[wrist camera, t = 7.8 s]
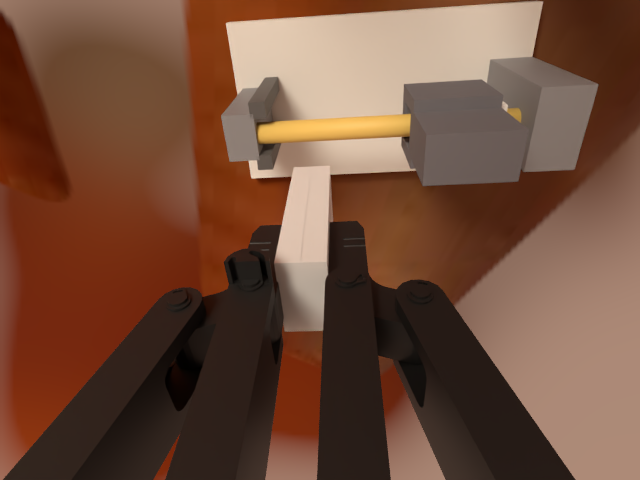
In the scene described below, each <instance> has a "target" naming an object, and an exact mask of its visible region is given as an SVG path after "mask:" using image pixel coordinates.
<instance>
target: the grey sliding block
mask: <svg viewBox="0 0 640 480" xmlns="http://www.w3.org/2000/svg"><path fill="white" fill-rule="evenodd" d="M503 96H504V95H503V94H501V93H500V92H499V91H497V90H496V89H494V88H493V87H491V86H490V85H489V84H487V83H486V82H484V81H483V80H482V79H480V80H463V81H446V82H429V83H412V84H404V93H403V114H411V120H410V136H409V137H402V139H401V146H402V149H403V151H404V154H405V156H406V159H407V162H408V164H409V167H410V169H416V171H417V174H418V176H419V179H420V181H421V183H422V186H434V185H456V184H478V183H500V182H518V180H519V175H520V171H521V166H522V161H523V156H524V152H525V147H526V142H527V137H528V133H529V129H528V128H527V127H525V126H524V125H523V124H521V123H520V122H519V121H518V120H516V119H515V118H514V117H513V116H511V115H510V114H509V113H508V112H506V111H505V110H504V109H503V108H502V102H503Z"/></svg>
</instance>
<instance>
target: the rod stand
mask: <svg viewBox="0 0 640 480" xmlns="http://www.w3.org/2000/svg"><path fill="white" fill-rule="evenodd" d="M542 5H543V1H525V2H511V3H497V4H482V5H468V6H453V7H439V8H425V9H410V10H396V11H382V12H367V13H353V14H339V15H324V16H310V17H296V18H281V19H267V20H253V21H238V22H228V23H226V27H227V33H228V39H229V45H230V51H231V57H232V63H233V69H234V75H235V82H236V88H237V94H238V96H237V97H236V98H235V99H234V100H233V102H232V103H231V104H230V105H229V107H228V108H227V109H226V110H225V112H224V113H223V114H222V115H221V118H222V124H223V129H224V134H225V139H226V145H227V150H228V155H229V160H230V162H232V161H249V166H250V172H251V178H271V177H292V174H293V169H294V167H312V166H330V175H335V174H356V173H377V172H399V171H416V169H410V167H409V164H408V162H407V159H406V156H405V154H404V151H403V149H402V146H401V139H402V137H409V136H410V120H411V114H403V93H404V84H412V83H429V82H446V81H463V80H480V79H482V80H483V81H484V82H486V83H487V84H489V85H490V86H491V87H493V88H494V89H496V90H497V91H499V92H500V93H501V94H503V95H504V96H503V102H502V108H503V109H504V110H505V111H506V112H508V113H509V114H510V115H511V116H513V117H514V118H515V119H516V120H518V121H519V122H520V123H521V124H523V125H524V126H525V127H527V128H528V129H529V133H528V137H527V142H526V147H525V152H524V156H523V161H522V166H521V170H522V171H523V172H537V171H559V170H574V169H575V166H576V162H577V159H578V155H579V152H580V148H581V145H582V141H583V138H584V134H585V131H586V127H587V124H588V120H589V117H590V113H591V110H592V106H593V103H594V99H595V96H596V92H597V89H598V85H599V84H597V83H595V82H592V81H590V80H587V79H585V78H583V77H580V76H578V75H575V74H573V73H570V72H568V71H566V70H563V69H561V68H558V67H556V66H554V65H551V64H549V63H546V62H544V61H541V60H539V59H537V58H534V57H532V56H533V51H534V46H535V41H536V36H537V30H538V25H539V20H540V15H541V10H542Z"/></svg>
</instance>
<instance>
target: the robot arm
mask: <svg viewBox="0 0 640 480" xmlns="http://www.w3.org/2000/svg"><path fill="white" fill-rule="evenodd" d="M224 265H225V269H226V273H227V278H228V282H229V286H228V289H227V290H225V291H223V292H220V293H217V294H213V295H209V296H205V297H202V294H201V293H200V292H199V291H198V290H197V289H193V288H178V289H175V290H172V291H170V292H168V293H166V294H164V295H163V296H162V297H161V298H160V299H159V300H158V301H157V302H156V303H155V304H154V305H153V307H152V308H151V309H150V310H149V311H148V312H147V314H146V315H145V316H144V317H143V318H142V320H141V321H140V322H139V323H138V324H137V325H136V326H135V327H134V329H133V330H132V331H131V332H130V333H129V334H128V336H127V337H126V338H125V339H124V340H123V341H122V342H121V344H120V345H119V346H118V347H117V348H116V349H115V351H114V352H113V353H112V354H111V355H110V356H109V358H108V359H107V360H106V361H105V362H104V363H103V365H102V366H101V367H100V368H99V369H98V370H97V371H96V373H95V374H94V375H93V376H92V377H91V378H90V380H89V381H88V382H87V383H86V384H85V385H84V387H83V388H82V389H81V390H80V391H79V392H78V393H77V395H76V396H75V397H74V398H73V399H72V401H71V402H70V403H69V404H68V405H67V406H66V407H65V408H64V410H63V411H62V412H61V413H60V414H59V416H58V417H57V418H56V419H55V420H54V421H53V422H52V424H51V425H50V426H49V427H48V428H47V429H46V430H45V432H44V433H43V434H42V435H41V436H40V437H39V439H38V440H37V441H36V442H35V443H34V444H33V446H32V447H31V448H30V449H29V450H28V451H27V453H26V454H25V455H24V456H23V457H22V458H21V459H20V461H19V462H18V463H17V464H16V465H15V466H14V468H13V469H12V470H11V471H10V472H9V473H8V475H7V476H6V477H5V478H4V479H3V480H153V479H154V477H155V475H156V474H157V472H158V470H159V469H160V467H161V465H162V463H163V462H164V460H165V458H166V456H167V455H168V453H169V451H170V449H171V448H172V446H173V444H174V443H175V441H176V439H177V437H178V436H179V434H180V436H179V439H178V442H177V445H176V449H175V452H174V455H173V458H172V461H171V464H170V467H169V470H168V473H167V476H166V479H165V480H265V476H266V469H267V462H268V455H269V446H270V439H271V431H272V424H273V417H274V410H275V403H276V395H277V387H278V380H279V373H280V366H281V358H282V351H283V338H282V326H283V324H284V330H285V331H323V346H322V372H321V397H320V422H319V446H318V471H317V472H318V473H317V480H391V479H390V468H389V459H388V448H387V440H386V439H387V438H386V429H385V419H384V409H383V399H382V389H381V379H380V370H379V360H378V355H379V356H383V357H387V358H390V359H393V362H394V365H395V367H396V370H397V372H398V374H399V376H400V378H401V381H402V383H403V385H404V387H405V390H406V392H407V394H408V396H409V399H410V401H411V403H412V405H413V408H414V410H415V412H416V414H417V417H418V419H419V421H420V423H421V425H422V428H423V430H424V432H425V434H426V436H427V439H428V441H429V443H430V446H431V448H432V450H433V452H434V454H435V457H436V459H437V461H438V463H439V466H440V468H441V470H442V472H443V475H444V477H445V479H446V480H575V478H574V477H573V476H572V474H571V473H570V471H569V470H568V468H567V467H566V466H565V464H564V463H563V461H562V460H561V458H560V457H559V456H558V454H557V453H556V451H555V450H554V448H553V447H552V446H551V444H550V443H549V441H548V440H547V439H546V437H545V436H544V434H543V433H542V431H541V430H540V429H539V427H538V426H537V424H536V423H535V421H534V420H533V419H532V417H531V416H530V414H529V413H528V411H527V410H526V409H525V407H524V406H523V405H522V403H521V401H520V400H519V399H518V397H517V396H516V394H515V393H514V391H513V390H512V389H511V387H510V386H509V384H508V383H507V381H506V380H505V379H504V377H503V376H502V375H501V373H500V371H499V370H498V369H497V367H496V366H495V364H494V363H493V361H492V360H491V359H490V357H489V356H488V354H487V353H486V351H485V350H484V349H483V347H482V346H481V345H480V343H479V342H478V340H477V339H476V337H475V336H474V335H473V333H472V332H471V330H470V329H469V327H468V326H467V324H466V323H465V322H464V320H463V319H462V317H461V316H460V314H459V313H458V312H457V310H456V309H455V307H454V306H453V304H452V303H451V302H450V300H449V299H448V297H447V296H446V294H445V293H444V292H443V290H442V289H441V288H440V287H438V286H437V285H436V284H434V283H431V282H429V281H425V280H410V281H407V282H404V283H402V284H401V285H400V286H399V287H398V288H397V289H392V288H388V287H384V286H381V285H379V284H377V283H376V282H375V281H373V280H372V279H371V277H370V276H369V273H368V266H367V256H366V246H365V236H364V228H363V227H362V226H361V225H360V224H359V223H358V222H357V221H347V222H333V212H332V194H331V176H330V166H312V167H294V169H293V174H292V178H291V183H290V188H289V193H288V198H287V203H286V208H285V212H284V217H283V222H282V225H266V226H260V227H259V228H258V229H257V230H256V231H255V232H254V233H253V234H252V237H251V241H250V244H249V247H248V249H242V250H239V251H236V252H234V253H232V254H231V255H230V256H228V257H227V258H226V260H225V261H224ZM180 432H181V433H180Z"/></svg>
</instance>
